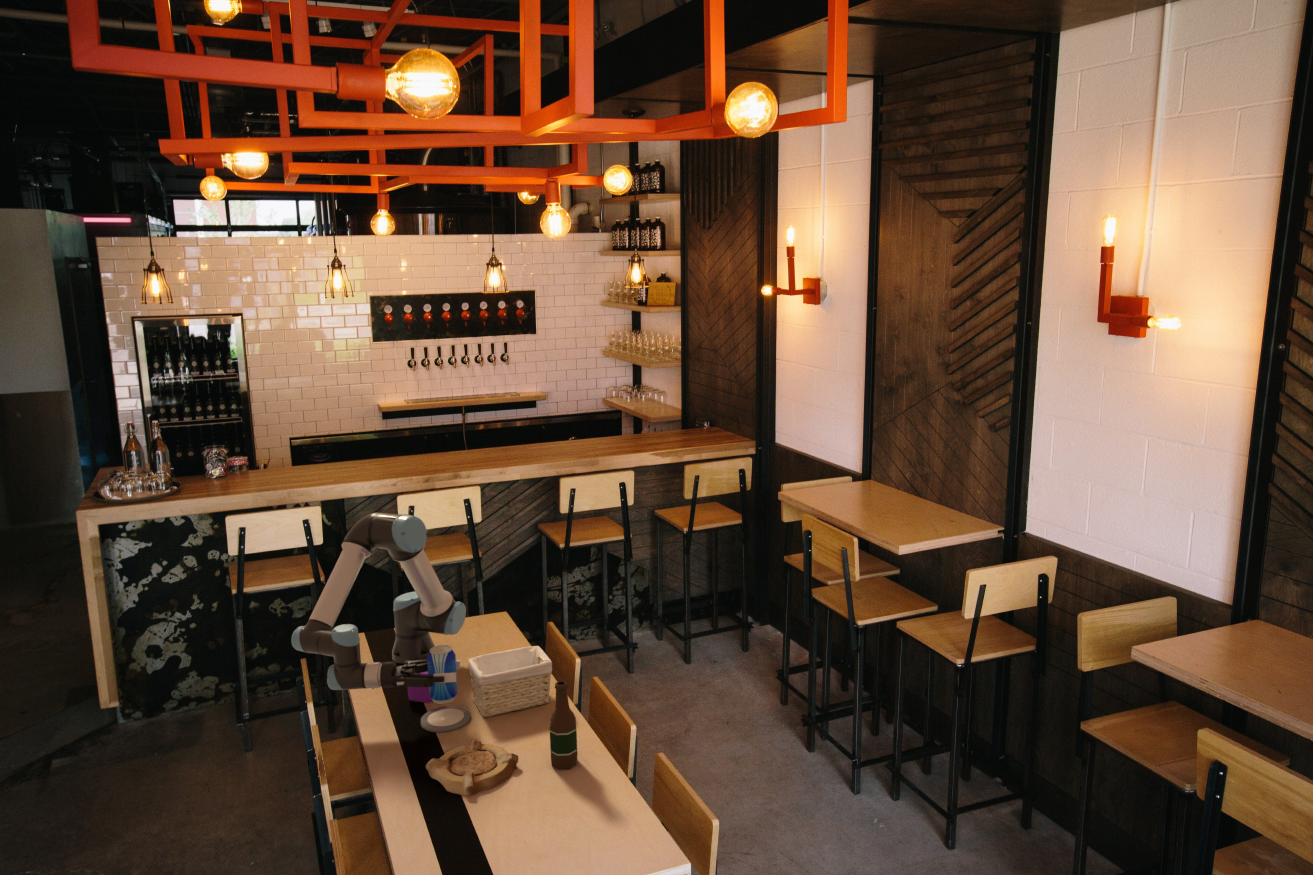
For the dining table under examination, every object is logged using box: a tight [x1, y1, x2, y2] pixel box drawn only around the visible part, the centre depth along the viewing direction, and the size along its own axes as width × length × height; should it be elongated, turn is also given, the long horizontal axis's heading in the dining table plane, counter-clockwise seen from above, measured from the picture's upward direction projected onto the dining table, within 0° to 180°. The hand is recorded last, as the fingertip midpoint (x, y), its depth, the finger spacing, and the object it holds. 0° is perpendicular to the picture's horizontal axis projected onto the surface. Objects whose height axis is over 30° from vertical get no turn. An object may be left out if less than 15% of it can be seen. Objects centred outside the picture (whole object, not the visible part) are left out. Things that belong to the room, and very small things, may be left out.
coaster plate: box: [420, 705, 472, 734], centre depth 268 cm, size 15×15×1 cm
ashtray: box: [425, 737, 519, 796], centre depth 239 cm, size 24×24×5 cm
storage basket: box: [467, 645, 553, 718], centre depth 278 cm, size 24×16×15 cm
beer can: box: [427, 644, 459, 705], centre depth 266 cm, size 8×8×16 cm
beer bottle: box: [549, 680, 578, 771], centre depth 241 cm, size 8×8×24 cm
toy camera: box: [407, 671, 434, 704], centre depth 285 cm, size 11×14×10 cm
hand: (457, 670), depth 266 cm, fingers closed on beer can, 8 cm apart
